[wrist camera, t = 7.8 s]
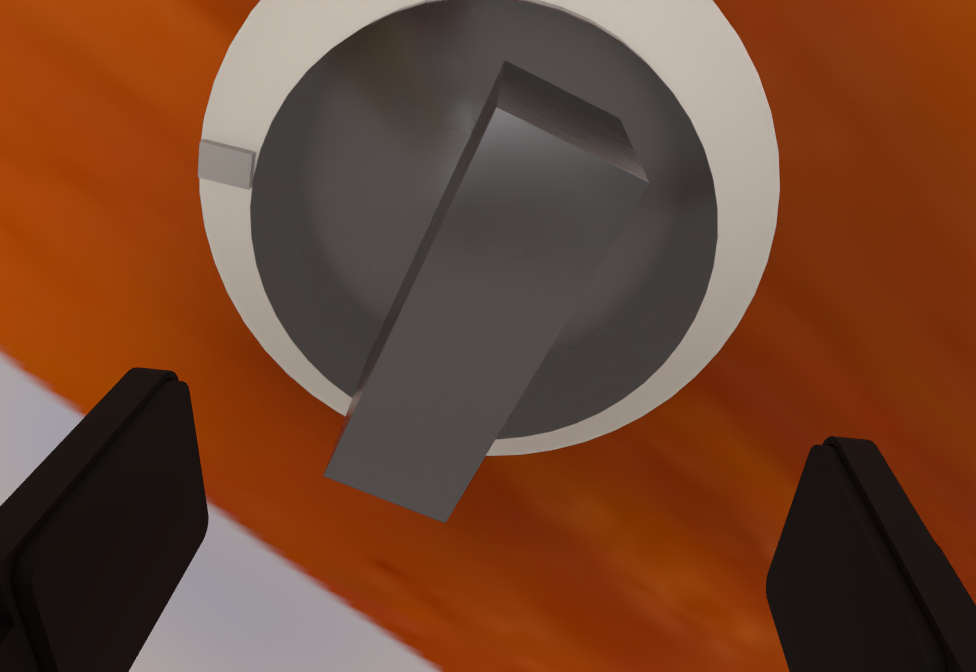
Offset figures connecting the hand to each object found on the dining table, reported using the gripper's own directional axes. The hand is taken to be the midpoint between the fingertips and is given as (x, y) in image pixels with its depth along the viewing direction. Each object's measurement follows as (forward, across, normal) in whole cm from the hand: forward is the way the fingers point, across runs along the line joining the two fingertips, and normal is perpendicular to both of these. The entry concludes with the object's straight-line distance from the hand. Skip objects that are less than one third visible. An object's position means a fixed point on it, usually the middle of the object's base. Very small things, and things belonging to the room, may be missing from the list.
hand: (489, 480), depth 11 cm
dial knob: (+11, +1, 0) cm, 11 cm away
